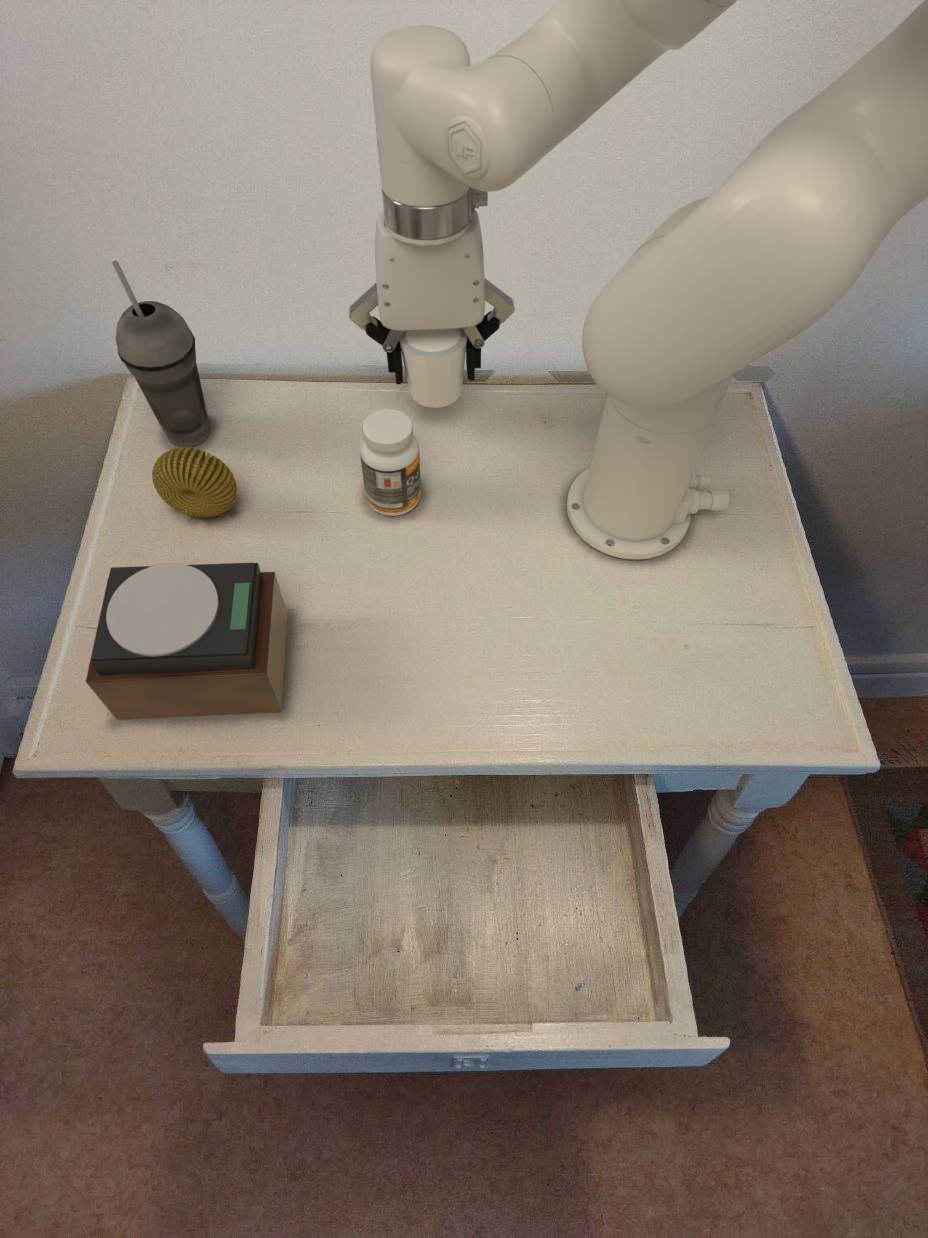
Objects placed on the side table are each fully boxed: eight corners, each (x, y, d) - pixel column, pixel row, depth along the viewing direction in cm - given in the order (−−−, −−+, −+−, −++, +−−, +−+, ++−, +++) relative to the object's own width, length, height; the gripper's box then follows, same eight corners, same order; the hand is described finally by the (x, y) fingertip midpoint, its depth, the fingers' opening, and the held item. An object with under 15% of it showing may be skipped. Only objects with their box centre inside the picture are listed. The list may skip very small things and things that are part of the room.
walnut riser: (288, 614, 73) (274, 571, 67) (281, 712, 68) (266, 674, 62) (134, 620, 72) (107, 577, 66) (116, 719, 67) (85, 681, 61)
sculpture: (249, 500, 80) (232, 443, 74) (238, 530, 78) (219, 475, 72) (173, 490, 81) (149, 433, 74) (160, 520, 79) (134, 464, 72)
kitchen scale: (262, 576, 67) (256, 558, 65) (254, 669, 62) (247, 652, 60) (118, 581, 66) (107, 563, 64) (99, 675, 62) (86, 659, 59)
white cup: (460, 415, 82) (459, 359, 76) (396, 407, 83) (390, 351, 77) (473, 372, 85) (473, 316, 80) (412, 364, 86) (407, 308, 80)
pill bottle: (422, 517, 80) (420, 447, 71) (365, 519, 80) (357, 449, 71) (419, 475, 83) (417, 403, 74) (365, 477, 83) (356, 405, 74)
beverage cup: (204, 464, 83) (144, 297, 66) (141, 448, 84) (66, 280, 67) (234, 417, 87) (184, 248, 70) (173, 403, 88) (110, 233, 71)
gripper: (523, 178, 70) (513, 347, 85) (327, 186, 69) (352, 354, 84) (532, 225, 66) (521, 394, 80) (324, 234, 65) (351, 402, 80)
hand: (434, 372), depth 82 cm, fingers closed on white cup, 6 cm apart
